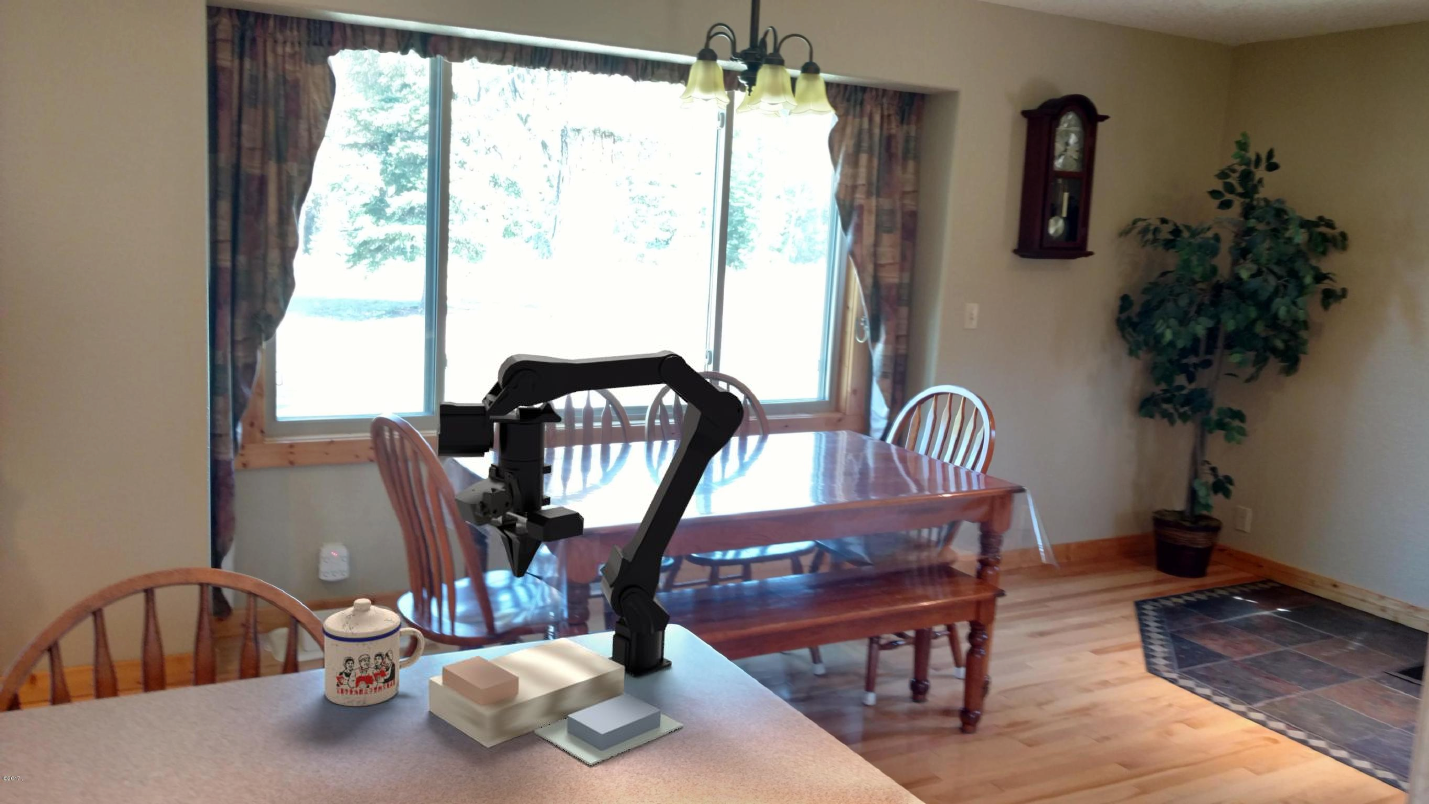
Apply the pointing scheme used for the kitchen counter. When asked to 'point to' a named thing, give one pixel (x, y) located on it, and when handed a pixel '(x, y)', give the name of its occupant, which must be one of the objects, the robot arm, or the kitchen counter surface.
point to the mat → (593, 755)
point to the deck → (532, 692)
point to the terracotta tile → (480, 680)
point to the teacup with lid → (364, 654)
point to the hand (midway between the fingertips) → (518, 576)
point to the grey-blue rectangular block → (613, 721)
